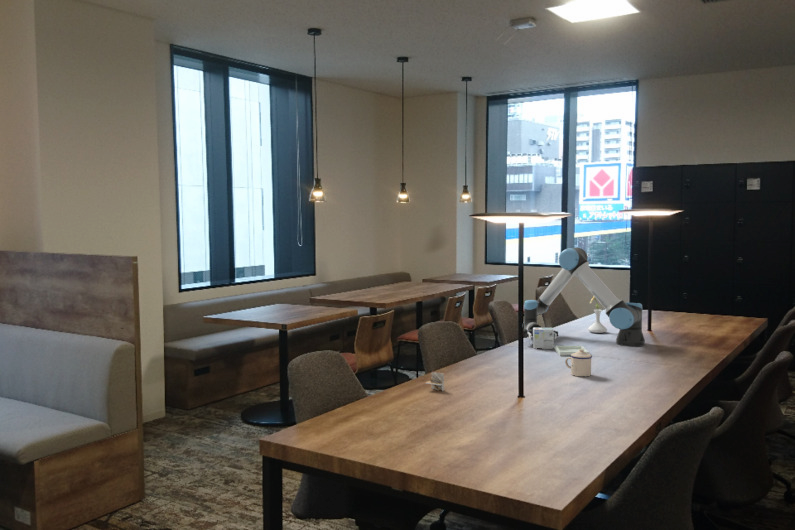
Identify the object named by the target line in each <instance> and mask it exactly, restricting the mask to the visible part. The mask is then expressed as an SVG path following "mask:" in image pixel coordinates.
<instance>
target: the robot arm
mask: <svg viewBox="0 0 795 530" xmlns="http://www.w3.org/2000/svg"><path fill="white" fill-rule="evenodd" d="M589 263H590V262H589V261H588V254H587V251H586V250H585V249H583V248H582V247H572V248H571V247H568V248H565V249H564V250H562V251H561V252H560V253H559V256H558V264H559V266H560V267H561V269H560V270H559V272H558V273H557V274H556V276H555V277H554V278H553V279H552V281H550V284H549V285H548V286H547V287H546V289H544V291H543V293H542V294H541V295H540V296H539V297H538V298H537V300H536V299H535V300H534V299H527V300H525V301H524V304H523V310H524V311H523V312H524V313H523V314H524V315H523V316H524V318H523V323H524V329H523V331H524V336H523V337H524V338H525V339H529V340H532V338H533V328H542V327H541V325H539V324H538V315H541V314H545V313H547V311H548V310H549V307H550V306H551V304H552V303H553V301H554V300H555V299H556V298H557V297H558V296H559V294H560V293H561V292H562V291H563V289H564V288H565V287H566V285H568V283H569V282H570V281H571V280H572V278H573V277H577V278H578V279H579V281H580V282H581V283H582V285H584V286H585V287H586V289H587V290H588V291H589V292H590V294H592V296H593V295H594V297H595V299H596V301H597V302H599V303H600V305H601V306H602V307H603V308H604V309H605V314H606V316H607V317H608V318H609V319H608V320H609V323H610V324H611V325H612V327H614V328H615V329H618V330H619V331H618V333H617V336H616V339H615V341H616V342H615V344H618V345H619V346H627V347H631V346H632V347H640V346H641V347H642V346H645V345H646V339H645V336H644V333H643V304H642V303H640V302H637V303H636V302H625V301H624V300H623V299H619V298H618V297H617V296H616V295H615V294H614V293H613V292H612V290H611V289H610V288H609V287H608V286H607V285H606V284H605V282H603V280H602V278H600V277H599V276H598V274H596V273H595V271H593V269H592V268H591V267H590V266H589V265H590V264H589ZM553 331H554V340H556V339H557V337H559V331H558V330H557V331H556V330H554V329H553Z"/></svg>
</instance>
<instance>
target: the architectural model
mask: <svg viewBox="0 0 795 530" xmlns="http://www.w3.org/2000/svg"><path fill="white" fill-rule="evenodd" d="M425 384H427V385H428V384H429V385H431V390H437V391H442V392H444V391H445V373H441V372H433V371H432V372H431V378H430V380H428V381H426V382H425Z"/></svg>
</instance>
